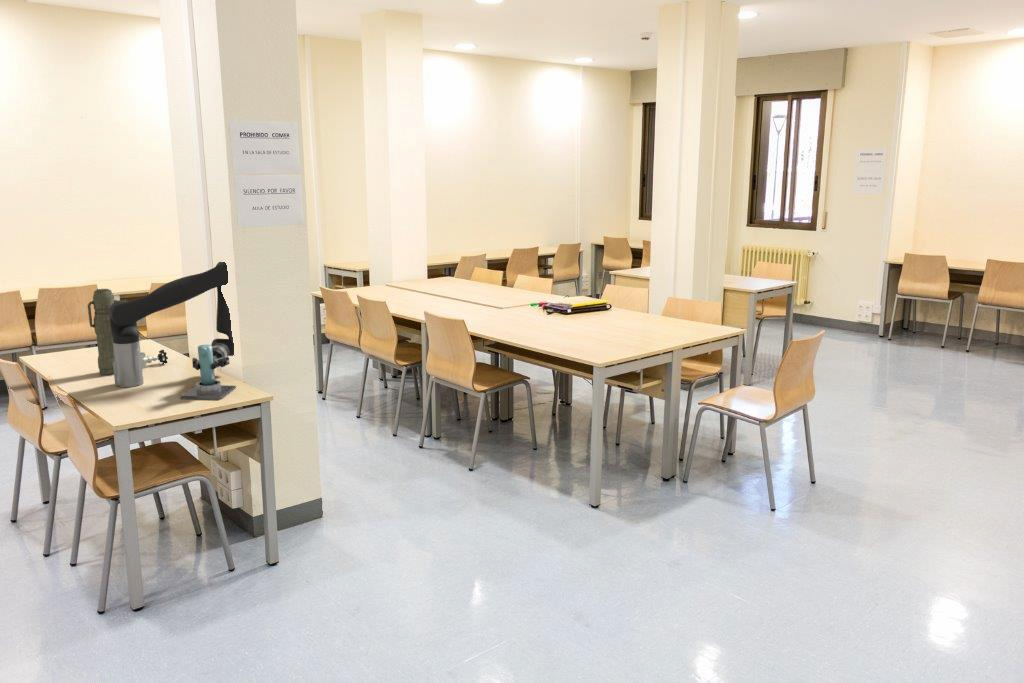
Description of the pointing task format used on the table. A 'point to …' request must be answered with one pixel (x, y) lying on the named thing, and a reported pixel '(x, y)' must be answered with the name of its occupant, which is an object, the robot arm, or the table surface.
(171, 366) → the table surface
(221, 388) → the collar
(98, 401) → the table surface
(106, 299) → the thermos
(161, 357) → the valve
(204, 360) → the teal spouted cylinder
